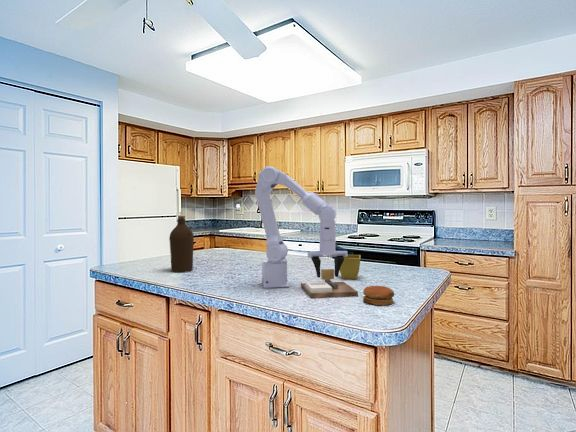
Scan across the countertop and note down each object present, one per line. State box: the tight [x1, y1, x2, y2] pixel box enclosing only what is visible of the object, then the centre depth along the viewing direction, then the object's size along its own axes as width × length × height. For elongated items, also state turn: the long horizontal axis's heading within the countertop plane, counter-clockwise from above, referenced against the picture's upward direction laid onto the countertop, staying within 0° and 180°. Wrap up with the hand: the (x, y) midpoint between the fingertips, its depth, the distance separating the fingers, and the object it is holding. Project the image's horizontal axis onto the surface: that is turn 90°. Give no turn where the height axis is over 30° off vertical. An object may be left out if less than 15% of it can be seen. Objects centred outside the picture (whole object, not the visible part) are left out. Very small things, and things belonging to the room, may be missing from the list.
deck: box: [300, 281, 359, 299], centre depth 124 cm, size 16×15×2 cm
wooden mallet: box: [320, 268, 338, 289], centre depth 126 cm, size 4×10×5 cm, turn 13°
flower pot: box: [339, 254, 361, 280], centre depth 147 cm, size 9×9×9 cm
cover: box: [304, 280, 332, 293], centre depth 122 cm, size 7×10×2 cm
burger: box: [362, 285, 395, 306], centre depth 112 cm, size 10×9×5 cm
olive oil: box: [168, 215, 195, 273], centre depth 163 cm, size 11×11×25 cm
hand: (327, 276), depth 130 cm, fingers open, 6 cm apart
